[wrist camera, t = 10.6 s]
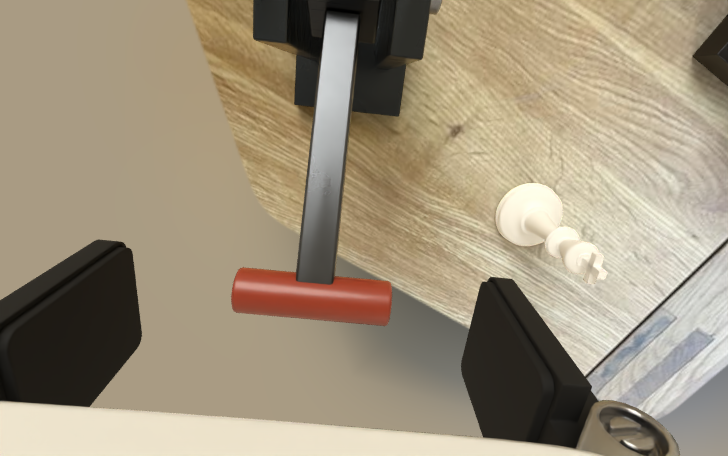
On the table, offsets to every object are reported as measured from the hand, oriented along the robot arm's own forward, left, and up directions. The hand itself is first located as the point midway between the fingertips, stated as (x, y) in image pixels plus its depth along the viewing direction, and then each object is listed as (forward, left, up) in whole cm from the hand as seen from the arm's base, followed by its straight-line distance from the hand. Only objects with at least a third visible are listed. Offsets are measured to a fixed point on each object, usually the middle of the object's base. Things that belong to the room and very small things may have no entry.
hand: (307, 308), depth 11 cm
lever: (+4, 0, -4) cm, 6 cm away
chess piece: (-2, -15, -19) cm, 24 cm away
